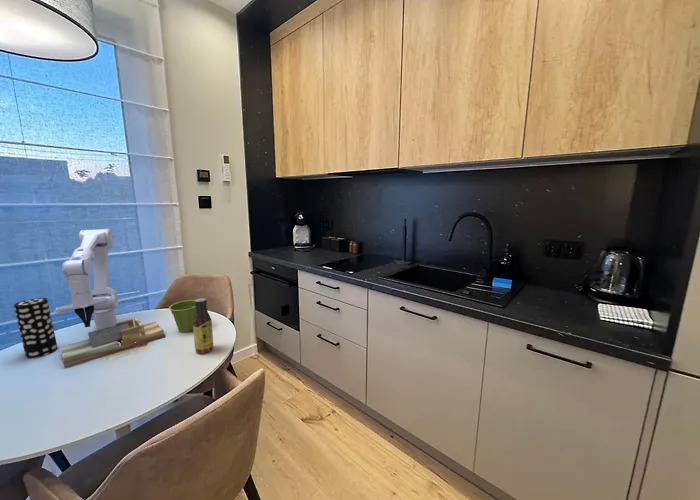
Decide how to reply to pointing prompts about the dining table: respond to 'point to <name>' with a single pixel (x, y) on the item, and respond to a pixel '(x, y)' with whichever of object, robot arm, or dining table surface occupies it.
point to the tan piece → (112, 343)
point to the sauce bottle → (202, 327)
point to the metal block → (106, 334)
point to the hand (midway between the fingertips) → (87, 326)
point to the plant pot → (184, 314)
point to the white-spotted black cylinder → (36, 327)
